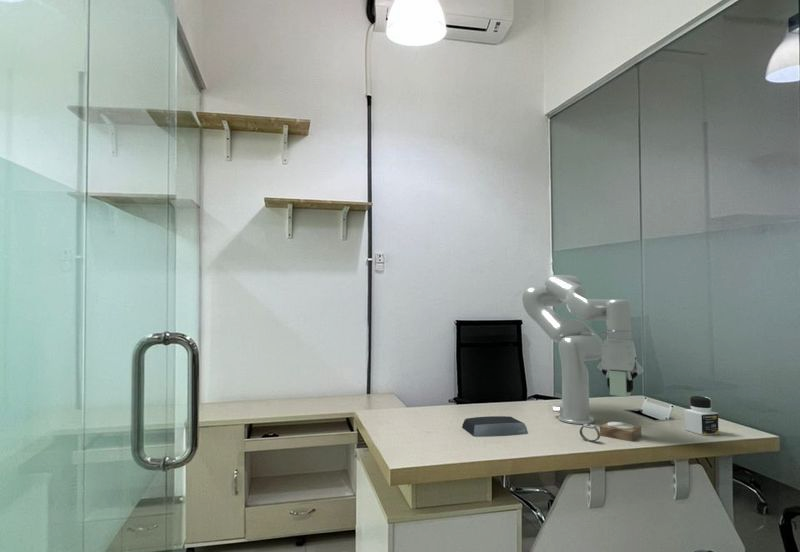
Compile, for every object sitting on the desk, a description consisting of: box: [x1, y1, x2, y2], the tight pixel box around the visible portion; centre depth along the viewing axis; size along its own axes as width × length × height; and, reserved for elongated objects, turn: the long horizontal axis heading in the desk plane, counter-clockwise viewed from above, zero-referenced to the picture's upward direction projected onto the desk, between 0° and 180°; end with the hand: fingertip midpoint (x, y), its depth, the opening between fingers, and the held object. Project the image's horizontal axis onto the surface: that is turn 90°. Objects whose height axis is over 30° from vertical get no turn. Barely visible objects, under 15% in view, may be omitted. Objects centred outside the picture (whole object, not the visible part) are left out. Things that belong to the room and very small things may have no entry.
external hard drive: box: [461, 415, 529, 437], centre depth 163 cm, size 13×19×4 cm
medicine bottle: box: [683, 395, 720, 436], centre depth 163 cm, size 7×7×12 cm
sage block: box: [609, 370, 632, 397], centre depth 159 cm, size 5×5×8 cm
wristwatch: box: [579, 423, 601, 443], centre depth 151 cm, size 6×3×5 cm, turn 44°
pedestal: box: [599, 420, 642, 442], centre depth 158 cm, size 10×10×3 cm
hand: (620, 390), depth 158 cm, fingers closed on sage block, 5 cm apart
